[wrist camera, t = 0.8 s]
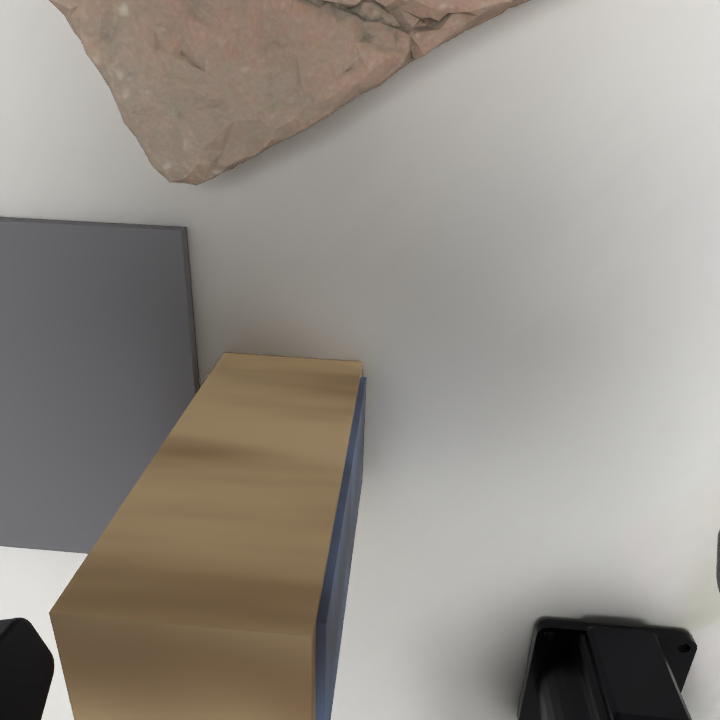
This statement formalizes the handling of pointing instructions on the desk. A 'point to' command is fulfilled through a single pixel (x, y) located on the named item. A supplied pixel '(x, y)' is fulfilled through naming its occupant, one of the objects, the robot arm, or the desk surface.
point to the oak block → (226, 555)
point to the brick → (251, 66)
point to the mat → (87, 371)
